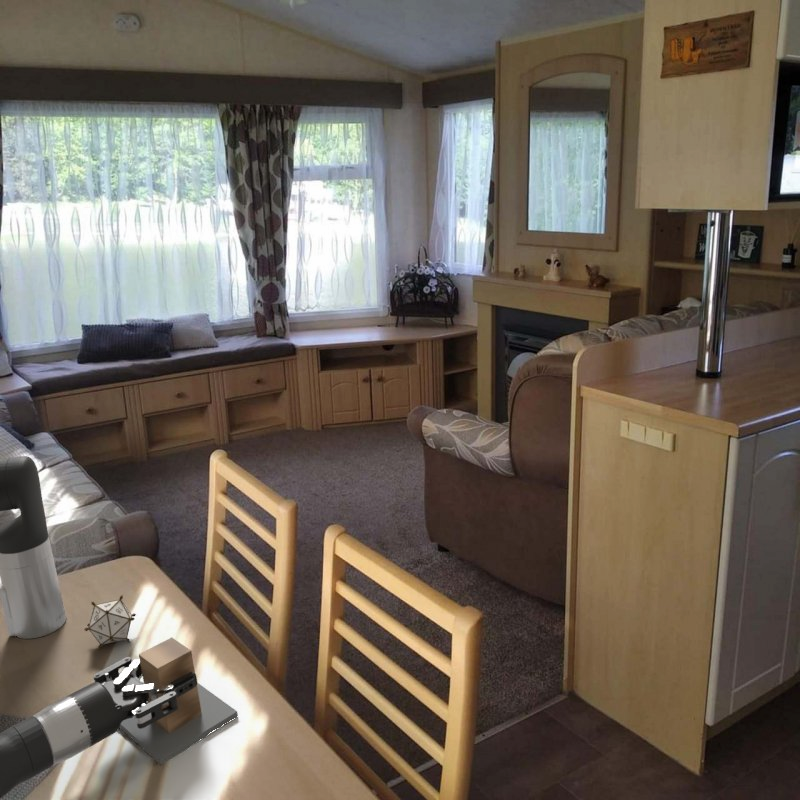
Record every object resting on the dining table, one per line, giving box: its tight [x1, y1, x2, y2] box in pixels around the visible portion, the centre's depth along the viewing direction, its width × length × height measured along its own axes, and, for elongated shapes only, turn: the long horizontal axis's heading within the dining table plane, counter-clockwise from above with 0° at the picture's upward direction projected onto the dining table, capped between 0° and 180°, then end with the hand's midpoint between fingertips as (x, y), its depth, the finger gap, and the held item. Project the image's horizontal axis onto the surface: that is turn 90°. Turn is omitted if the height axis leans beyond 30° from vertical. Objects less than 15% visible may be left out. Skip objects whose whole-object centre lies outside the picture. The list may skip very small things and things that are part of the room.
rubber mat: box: [119, 682, 239, 766], centre depth 121 cm, size 13×13×1 cm
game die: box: [83, 594, 137, 650], centre depth 142 cm, size 9×8×10 cm
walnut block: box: [138, 637, 202, 733], centre depth 119 cm, size 6×6×11 cm
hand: (180, 666), depth 120 cm, fingers open, 8 cm apart
